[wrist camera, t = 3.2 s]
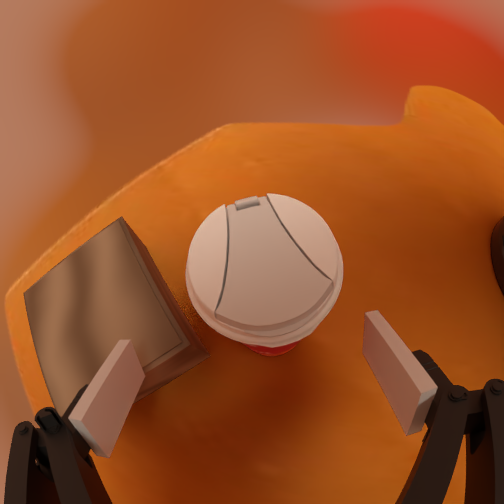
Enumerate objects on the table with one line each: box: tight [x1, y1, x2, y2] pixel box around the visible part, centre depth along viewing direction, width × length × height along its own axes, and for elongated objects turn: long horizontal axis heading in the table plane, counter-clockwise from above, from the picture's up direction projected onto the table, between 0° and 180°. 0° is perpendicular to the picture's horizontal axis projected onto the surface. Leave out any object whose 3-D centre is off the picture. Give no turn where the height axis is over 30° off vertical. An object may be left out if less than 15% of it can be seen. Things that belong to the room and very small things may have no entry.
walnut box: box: [24, 216, 210, 417], centre depth 23 cm, size 14×14×6 cm
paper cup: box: [186, 193, 343, 356], centre depth 19 cm, size 8×8×14 cm
